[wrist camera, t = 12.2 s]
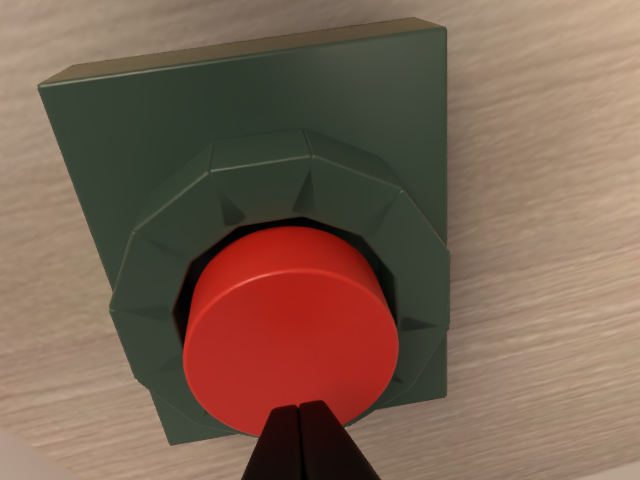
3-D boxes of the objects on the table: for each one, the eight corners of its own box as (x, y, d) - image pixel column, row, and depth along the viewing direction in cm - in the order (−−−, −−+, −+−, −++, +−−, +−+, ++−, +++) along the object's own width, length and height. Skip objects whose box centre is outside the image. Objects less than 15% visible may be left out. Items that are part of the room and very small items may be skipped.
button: (384, 363, 12) (404, 421, 11) (214, 392, 12) (209, 456, 10) (373, 209, 10) (395, 252, 9) (170, 241, 10) (155, 291, 9)
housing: (425, 348, 17) (471, 449, 13) (178, 390, 16) (158, 506, 13) (417, 16, 12) (485, 37, 9) (69, 65, 12) (-8, 107, 8)
